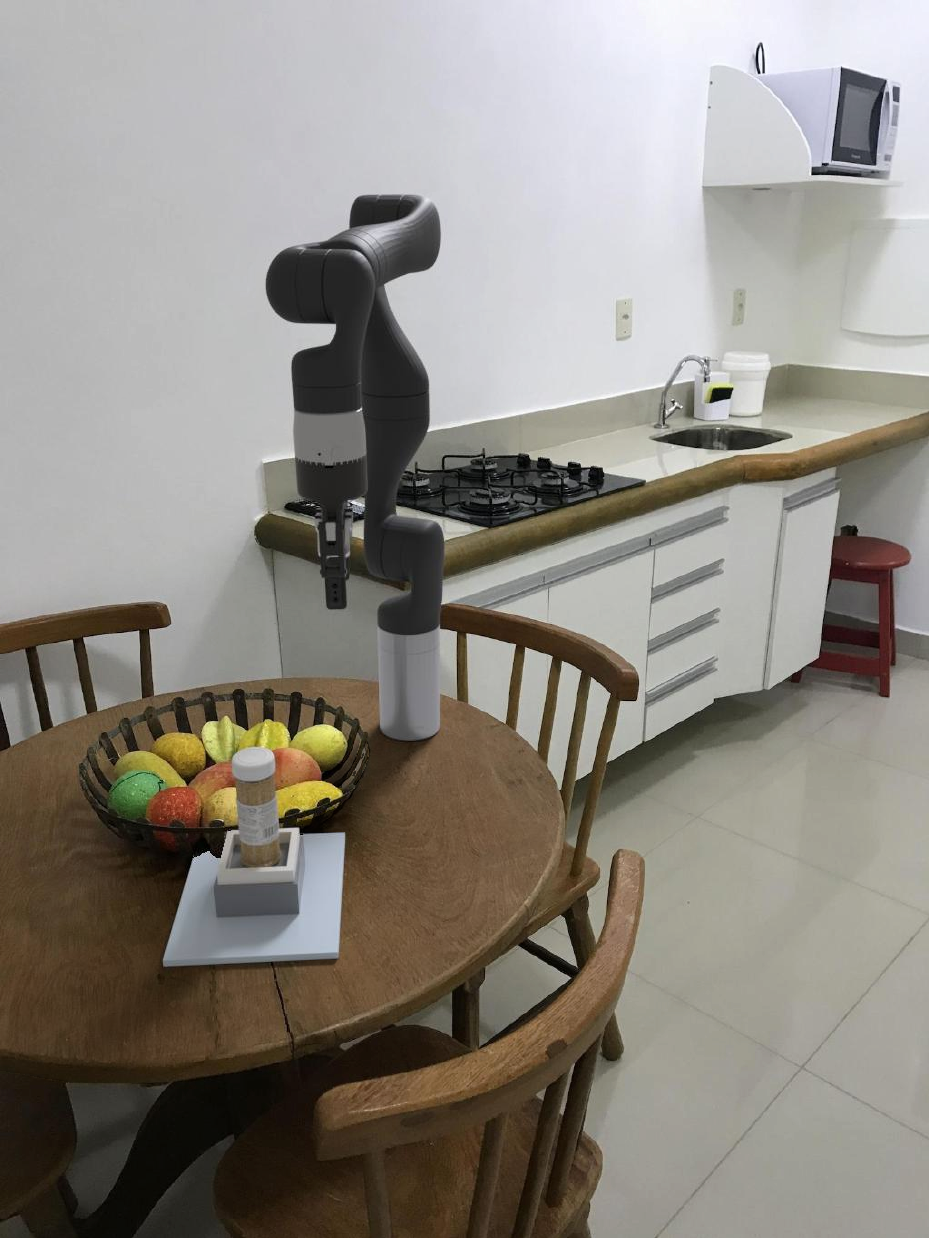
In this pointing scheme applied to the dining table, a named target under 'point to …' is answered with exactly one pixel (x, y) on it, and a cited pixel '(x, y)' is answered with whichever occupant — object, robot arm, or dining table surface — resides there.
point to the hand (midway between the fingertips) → (338, 593)
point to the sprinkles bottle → (257, 806)
